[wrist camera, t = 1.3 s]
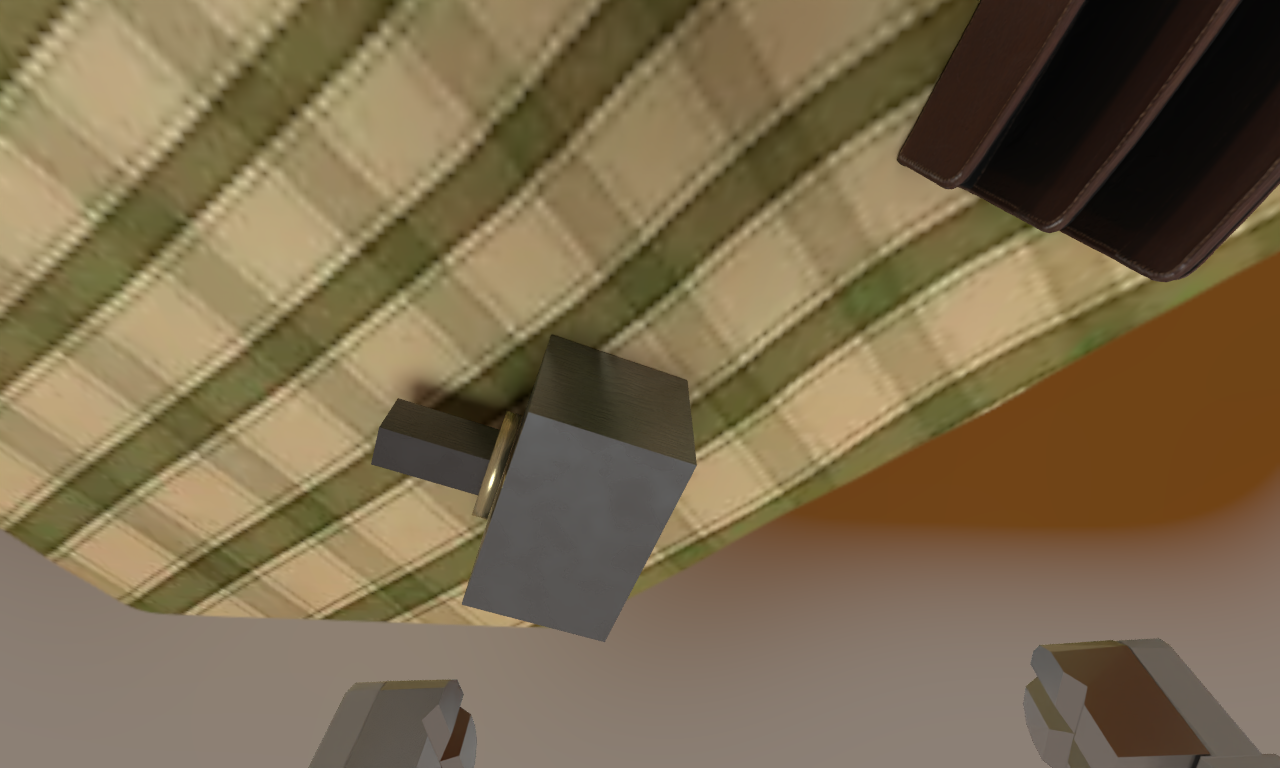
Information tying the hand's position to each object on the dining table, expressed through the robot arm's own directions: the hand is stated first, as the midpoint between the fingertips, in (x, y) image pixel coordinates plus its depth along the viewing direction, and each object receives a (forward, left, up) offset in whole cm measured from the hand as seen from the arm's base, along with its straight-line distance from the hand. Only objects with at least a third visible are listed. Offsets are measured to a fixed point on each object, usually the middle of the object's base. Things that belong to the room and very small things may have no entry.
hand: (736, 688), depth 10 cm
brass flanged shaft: (-4, -21, -33) cm, 39 cm away
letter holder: (+17, +16, -35) cm, 42 cm away
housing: (+2, -21, -35) cm, 40 cm away
